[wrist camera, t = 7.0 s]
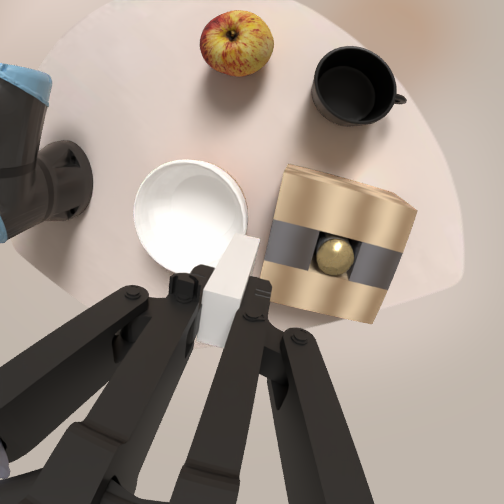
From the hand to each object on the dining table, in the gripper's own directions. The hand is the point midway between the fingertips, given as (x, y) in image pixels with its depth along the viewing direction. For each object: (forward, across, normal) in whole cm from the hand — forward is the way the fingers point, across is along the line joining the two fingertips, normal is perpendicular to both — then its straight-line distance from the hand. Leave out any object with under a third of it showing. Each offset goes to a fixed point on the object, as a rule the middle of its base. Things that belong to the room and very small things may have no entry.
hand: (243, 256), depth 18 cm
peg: (+25, +9, -5) cm, 27 cm away
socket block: (+26, +10, -5) cm, 28 cm away
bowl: (+27, -10, -6) cm, 29 cm away
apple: (+27, -8, +18) cm, 33 cm away
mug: (+27, +8, +15) cm, 32 cm away
